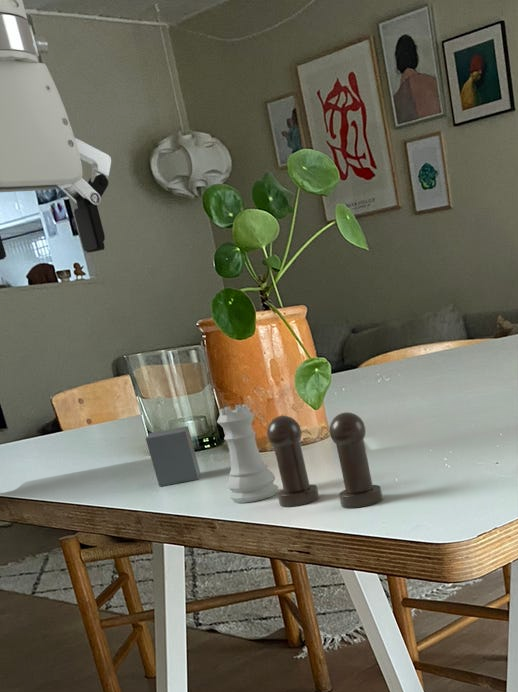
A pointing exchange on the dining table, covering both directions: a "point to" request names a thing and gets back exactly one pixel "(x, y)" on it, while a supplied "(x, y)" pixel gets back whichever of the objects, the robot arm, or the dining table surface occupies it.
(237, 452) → the rook chess piece
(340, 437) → the pawn
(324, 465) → the dining table surface
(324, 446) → the dining table surface
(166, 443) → the grey block
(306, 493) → the pawn
